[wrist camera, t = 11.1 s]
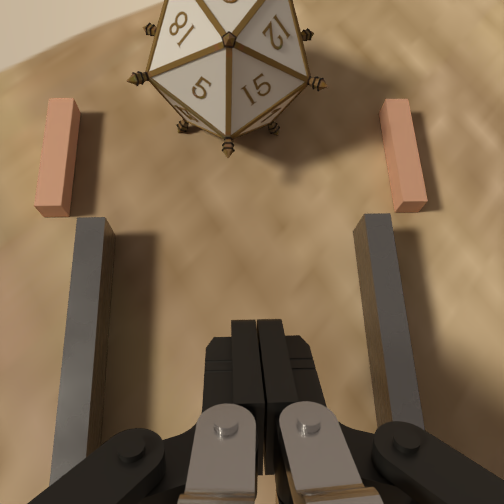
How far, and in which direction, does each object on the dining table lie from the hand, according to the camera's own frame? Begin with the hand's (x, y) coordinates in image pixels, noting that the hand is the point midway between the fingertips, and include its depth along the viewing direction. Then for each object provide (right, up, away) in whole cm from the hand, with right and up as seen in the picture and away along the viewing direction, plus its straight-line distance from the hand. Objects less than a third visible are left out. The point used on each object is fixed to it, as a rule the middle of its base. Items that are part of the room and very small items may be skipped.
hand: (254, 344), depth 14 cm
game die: (-1, +10, +11) cm, 15 cm away
